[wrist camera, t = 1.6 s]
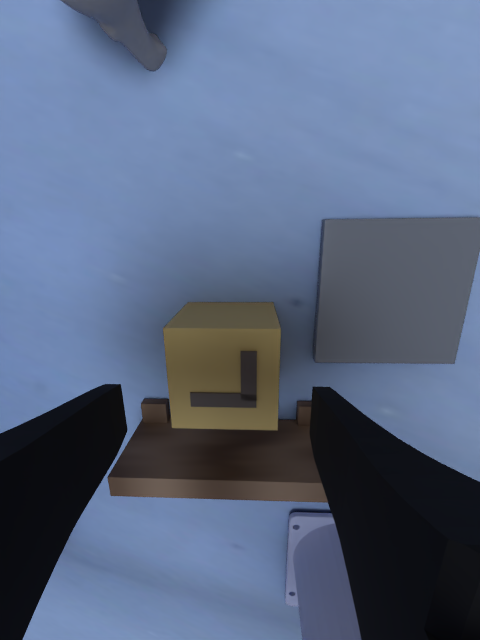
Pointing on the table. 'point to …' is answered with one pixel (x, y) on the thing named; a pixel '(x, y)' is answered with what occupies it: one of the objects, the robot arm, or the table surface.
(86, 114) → the table surface
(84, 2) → the dog figurine
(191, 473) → the wooden board
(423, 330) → the coaster
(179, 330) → the cube
